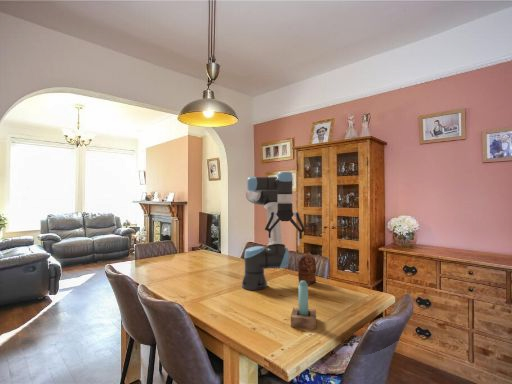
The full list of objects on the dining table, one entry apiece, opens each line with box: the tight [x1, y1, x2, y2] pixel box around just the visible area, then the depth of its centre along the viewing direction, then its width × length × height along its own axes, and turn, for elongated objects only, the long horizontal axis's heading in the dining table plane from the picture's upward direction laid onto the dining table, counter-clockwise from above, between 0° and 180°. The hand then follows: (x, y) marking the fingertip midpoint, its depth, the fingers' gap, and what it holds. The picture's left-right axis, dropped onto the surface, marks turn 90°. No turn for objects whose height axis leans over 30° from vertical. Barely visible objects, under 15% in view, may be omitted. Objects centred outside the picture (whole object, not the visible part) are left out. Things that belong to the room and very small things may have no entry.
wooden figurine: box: [297, 253, 317, 286], centre depth 169 cm, size 12×6×18 cm, turn 124°
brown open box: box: [290, 307, 317, 330], centre depth 115 cm, size 10×10×4 cm
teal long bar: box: [297, 280, 309, 316], centre depth 116 cm, size 4×4×18 cm
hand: (285, 244), depth 137 cm, fingers open, 13 cm apart
